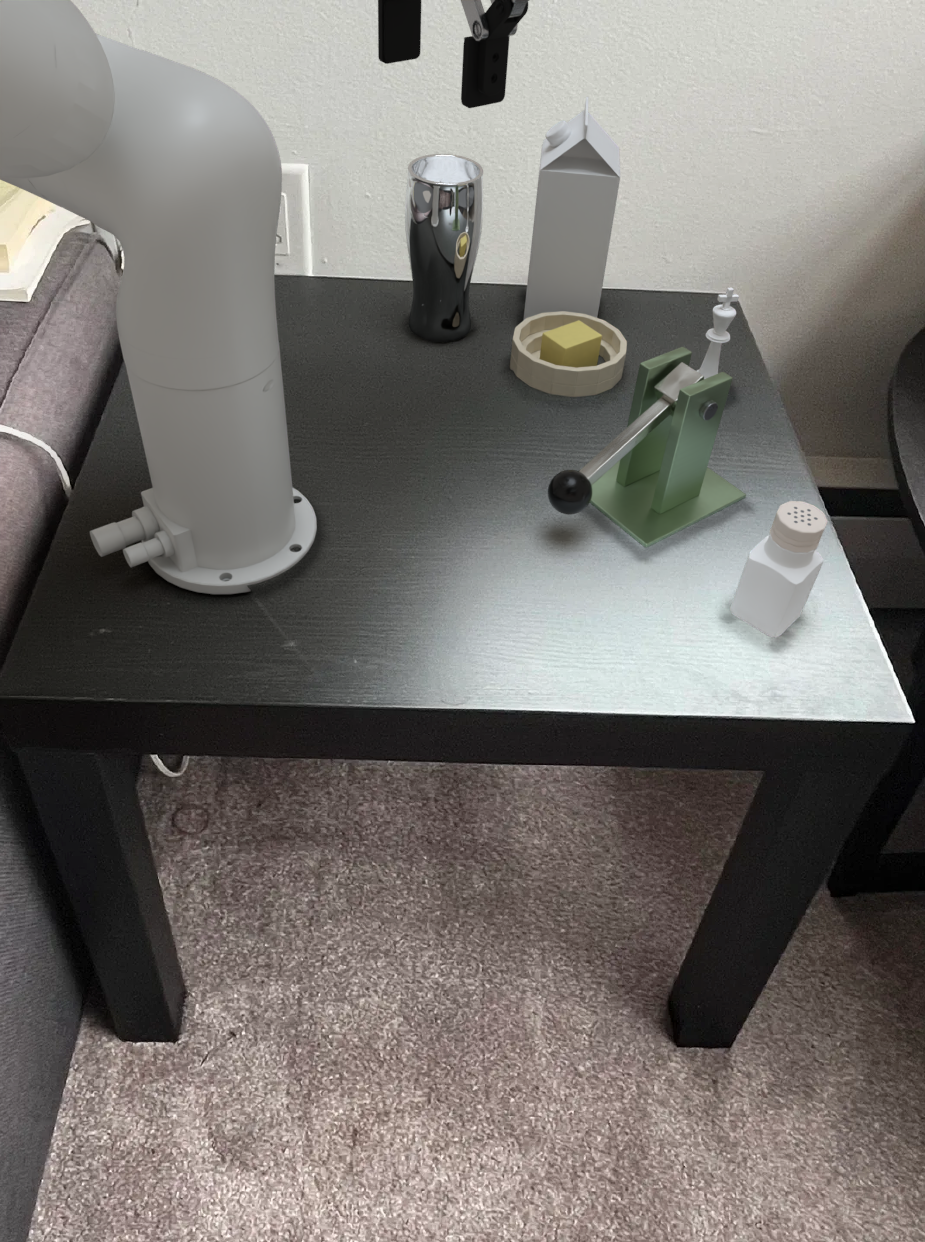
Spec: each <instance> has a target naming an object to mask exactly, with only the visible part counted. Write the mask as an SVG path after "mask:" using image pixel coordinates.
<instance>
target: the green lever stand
mask: <svg viewBox="0 0 925 1242" xmlns="http://www.w3.org/2000/svg"><path fill="white" fill-rule="evenodd" d="M692 355H693V352H692V351H691V350H690V349H688V348H686V347H685V346H680V347H678V348H675V349H672V350H670V351H667V352H665V353H662V354H660V355H657V356H655V357H652V358H649V359H647V360H645V361H644V360H643V361H642V362H640V363H639V367H638V372H637V375H636V376H637V378H636V381H635V387H634V391H633V395H632V402H631V406H630V411H629V415H628V419H627V424H626V428H627V427H628V426H629V425H630V424H632V423H633V422H634V421H635V420H636V419H637V418H638V417H639V416H640V415H642V414H643V413H644V412H645V411H646V410H647V409H648V408H649V407H650V406H652V405H653V404H654V403H655V402H656V401H657V397H656V393H655V389H654V387H655V386H656V385H657V384H658V383H659V382H660V381H661V380H662V379H663V378H665V377H666V376H667V375H668V374H669V373H670V372H671V371H672V370H673V369H675V368H676V367H677V366H678V365H679V364H680V363H681V362H683V363H684V364H686V365H688V366H689V367H690V362H691V358H692ZM732 382H733V377H732V376H730V375H729V374H728V373H726V372H725V371H721V372H718V374H716V375H713V376H711V377H709V378H706V379H704V380H701V381H699V382H696V383H694V384H692V385H689V386H687V387H684V388H682V389H680V391H679V395H678V399H677V403H676V407H675V411H674V415H673V417H672V416H671V415H669V416H668V417H667V418H666V419H665V420H664V421H662V422H661V423H660V424H659V425H658V426H657V427H656V428H655V429H654V430H653V431H651V432H650V433H649V434H648V435H647V436H646V437H645V438H644V439H643V440H642V441H640V442H639V443H638V444H637V445H636V446H635V447H634V448H633V449H632V450H630V451H629V452H628V453H627V454H626V455H625V456H624V457H623V458H622V459H621V460H619V461H618V462H617V463H616V464H615V465H614V466H613V467H612V468H611V469H609V470H608V471H607V472H606V473H605V474H604V475H603V476H602V477H601V478H600V479H598V480H597V481H596V482H595V483H594V484H593V485H592V498H591V501H590V503H589V504H590V505H592V506H593V507H594V508H595V509H597V510H598V511H599V512H600V513H602V514H603V515H604V516H605V517H606V518H608V519H609V520H610V521H612V522H613V523H614V524H615V525H617V527H619V528H620V529H621V530H623V531H624V532H625V533H626V534H627V535H629V536H630V537H631V538H633V539H634V540H635V541H636V542H638V543H639V544H640V545H641V546H642V547H644V548H646V549H647V548H649V547H651V546H653V545H655V544H657V543H659V542H661V541H663V540H664V539H667V538H670V537H672V536H673V535H675V534H677V533H679V532H681V531H683V530H685V529H687V528H689V527H690V526H692V525H695V524H697V523H699V522H700V521H702V520H704V519H706V518H708V517H710V516H712V515H714V514H716V513H719V512H720V511H722V510H724V509H726V508H728V507H731V506H732V505H734V504H736V503H738V502H740V501H742V500H744V499H746V497H747V494H746V493H745V492H744V491H742V490H741V489H739V488H737V487H736V486H735V485H733V484H732V483H731V482H729V481H728V480H726V479H725V478H724V477H722V476H721V475H719V474H718V473H717V472H716V471H714V470H713V469H711V468H709V467H708V466H709V463H710V460H711V459H710V458H711V455H712V452H713V448H714V445H715V441H716V438H717V434H718V431H719V428H720V423H721V420H722V417H723V413H724V410H725V407H726V403H727V399H728V396H729V392H730V389H731V385H732Z"/></svg>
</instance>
